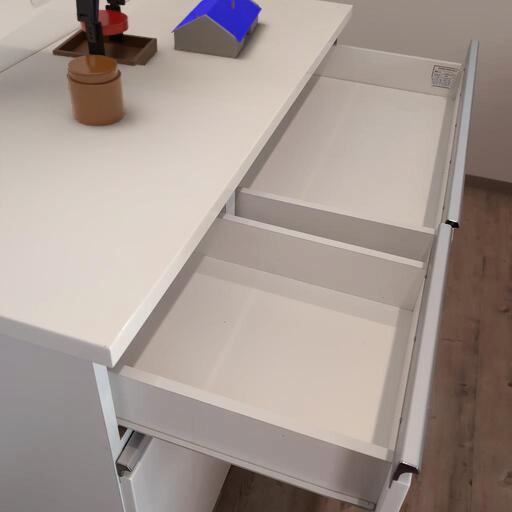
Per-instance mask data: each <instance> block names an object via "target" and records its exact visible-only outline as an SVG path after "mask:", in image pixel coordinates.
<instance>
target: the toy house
mask: <svg viewBox="0 0 512 512" xmlns="http://www.w3.org/2000/svg"><path fill="white" fill-rule="evenodd" d="M262 9H263V8H262V7H260V4H258V3H257V2H256V1H254V0H200V1H199V3H198V4H197V5H196V6H195V7H194V8H193V9H192V10H191V11H190V12H189V13H188V14H187V15H186V16H185V17H184V18H183V19H182V20H181V21H180V22H179V23H178V24H177V25H176V27H175V28H174V29H172V31H170V33H173V42H174V43H173V44H174V50H176V51H182V52H183V51H184V52H190V53H195V54H196V53H197V54H203V55H211V56H218V57H224V58H231V59H236V58H237V57H238V55H239V53H240V52H241V50H242V49H243V47H244V45H245V36H246V34H251V35H252V33H253V31H254V29H255V27H256V26H257V25H258V24H259V14H260V13H261V11H262Z"/></svg>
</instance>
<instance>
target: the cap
mask: <svg viewBox="0 0 512 512" xmlns="http://www.w3.org/2000/svg"><path fill="white" fill-rule="evenodd" d="M98 21H99V22H101V24H102V32H103V35H115V34H120V33H123V34H124V33H125V32H127V31H128V30H129V27H130V25H129V16H128V15H127V14H126V13H124V12H123V11H121V12H119V11H114V10H106V9H99V18H98ZM79 23H80V29H81V28H82V30H83V31H85V32H86V27H85V23H84V22H79Z"/></svg>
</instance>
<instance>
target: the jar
mask: <svg viewBox="0 0 512 512" xmlns="http://www.w3.org/2000/svg"><path fill="white" fill-rule="evenodd" d="M66 80H67V87H68V94H69V99H70V104H71V111H72V115H73V116H72V117H73V119H74V120H75V121H76V122H77V123H79V124H82V125H85V126H91V127H103V126H104V127H105V126H110V125H113V124H116V123H118V122H121V121H122V120H123V119H124V118H125V116H126V108H125V97H124V89H123V80H122V72H121V70H120V69H119V66H118V64H117V62H116V61H115V60H114V59H113V58H110V57H107V56H102V55H86V56H80V57H77V58H74V57H73V58H72V59H71V60H70V61H68V62H67V73H66Z"/></svg>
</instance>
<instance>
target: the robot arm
mask: <svg viewBox="0 0 512 512" xmlns="http://www.w3.org/2000/svg"><path fill="white" fill-rule="evenodd" d="M106 3H107V4H106V5H104V8H105V9H104V10H114V11H119V12H122V7H121V6H125V5H126V0H106ZM75 7H76V9H75V10H76V20H77V22H79V23H80V22H84V23H85V27H86V34H87V41H88V48H89V54H91V55H102V56H105V48H104V40H103V32H102V24H101V22H99V21H98V18H99V10H100V0H75ZM123 34H124V32H123V33H120V34H115V35H109V41H112V42H120V43H123V42H124V37H123Z"/></svg>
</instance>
